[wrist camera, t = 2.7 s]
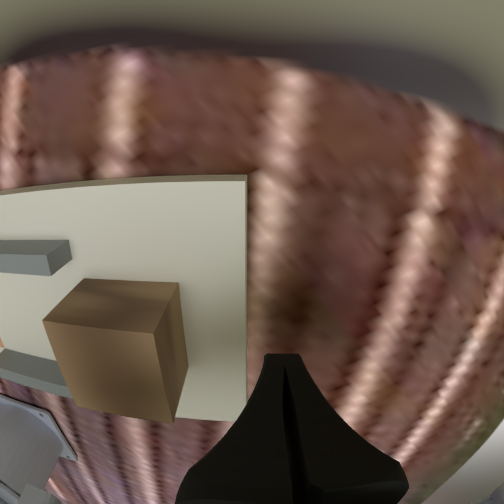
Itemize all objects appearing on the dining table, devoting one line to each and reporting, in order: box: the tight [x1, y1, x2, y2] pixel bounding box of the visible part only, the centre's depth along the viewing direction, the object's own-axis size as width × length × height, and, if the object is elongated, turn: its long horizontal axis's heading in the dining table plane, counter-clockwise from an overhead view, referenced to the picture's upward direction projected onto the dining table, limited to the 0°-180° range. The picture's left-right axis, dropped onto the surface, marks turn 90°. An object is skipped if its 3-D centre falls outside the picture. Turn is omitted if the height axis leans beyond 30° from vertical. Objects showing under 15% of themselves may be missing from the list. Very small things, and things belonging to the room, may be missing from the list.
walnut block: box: [42, 278, 189, 423], centre depth 13 cm, size 5×5×4 cm
